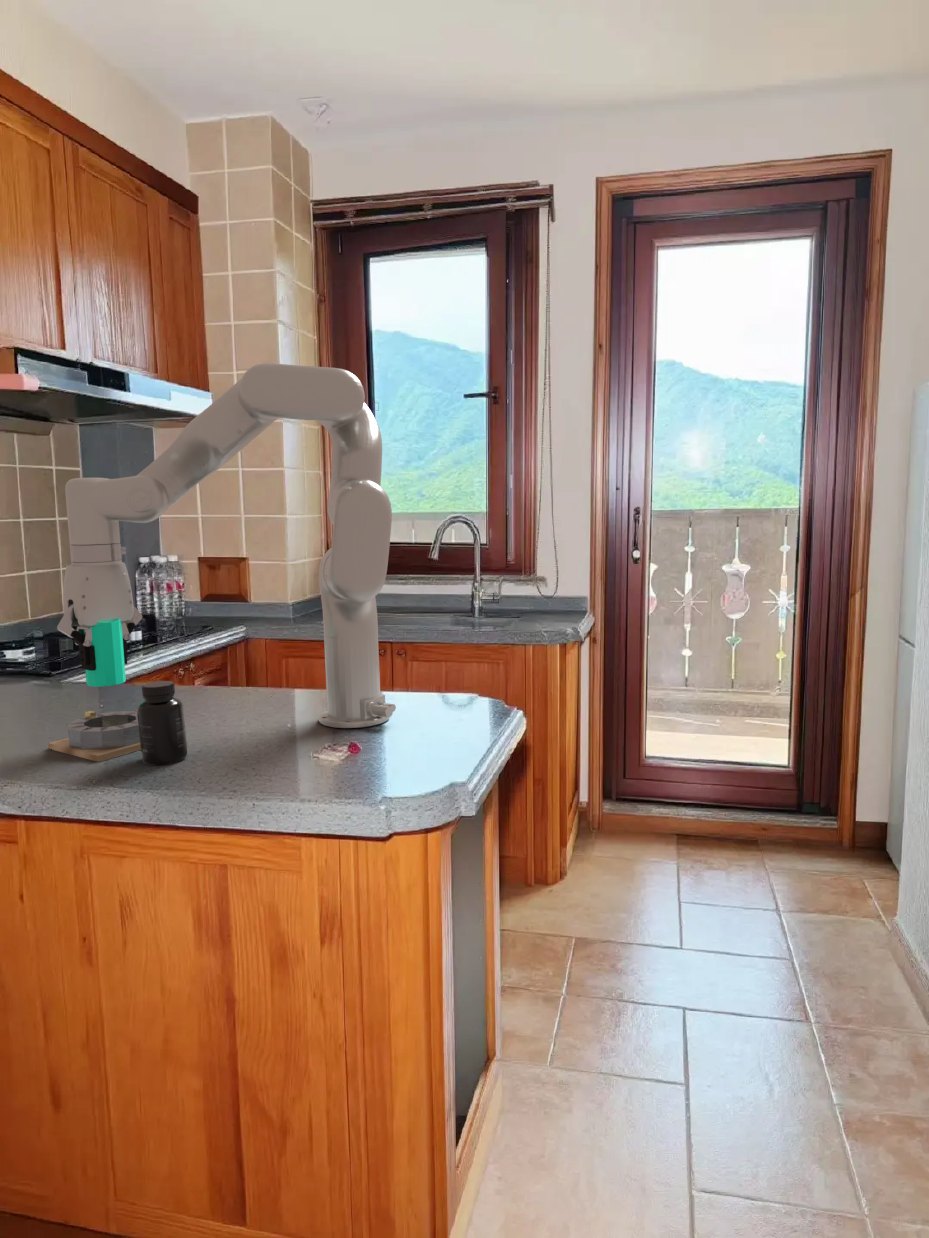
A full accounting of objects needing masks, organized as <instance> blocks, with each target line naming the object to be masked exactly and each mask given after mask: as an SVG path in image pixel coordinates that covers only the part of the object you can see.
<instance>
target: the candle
mask: <svg viewBox="0 0 929 1238" xmlns="http://www.w3.org/2000/svg"><path fill="white" fill-rule="evenodd" d="M91 628H92V642H91V645H90V646H94V649H95V661H96V670H93V671H91V670H85V669H84V671H85V682H86V683H85V684H86V686H88V687H96V688H97V687H99V688H101V687H109V686H110V687H112V686H117V685H120V684H124V683H125V682H126V681H127V678H126V666H125V665H126V664H125V663H124V650H123V636H122V623H121V621H120V619H117V620H116V621H113V622H99V623H97V625H96V626H94V627H91ZM84 631H85V630H83V633H84Z"/></svg>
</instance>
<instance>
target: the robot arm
mask: <svg viewBox="0 0 929 1238" xmlns="http://www.w3.org/2000/svg"><path fill="white" fill-rule="evenodd" d="M362 384H363V383H362V382H361V380H360V379H359V378H358V377H357V376H356V375H355V374H353V373H352V372H351V371H349V370H346V369H343V368H337V367H328V366H310V365H298V364H297V365H296V364H294V365H293V364H284V363H273V362H272V363H271V362H270V363H269V362H268V363H265V362H263V363H258V364H257V363H256V364H255V365H253V366H250V367H249V368H248V369H247V370H246V371H245V372H244V373H243V375H242V376H241V378H240V379H239V380H238V381H237V382H236V383H234V385H232V386H231V387H230V388H229V389H228V390H226V391H225V392H224V393H223V394H222V395H221V396H219V397H218V398H217V399H216V400H214V401H213V402H212V403H211V404H210V405H209V406H208V407H207V408H205V409H204V410H203V411H202V412H200V413H199V414H198V415H196V416H195V417H194V418H193V419H192V420H190V421H189V423H188V424H186V425H185V427H184V428H183V429H182V431H181V432H180V434H179V435H178V436H177V437H176V439H175V440H174V441H173V442H172V444H171V445H170V446H168V447H167V449H166V450H164V451H163V452H162V453H161V454H160V455H159V456H158V457H157V458H156V459H154V460H153V461H152V462H151V463H150V464H149V465H148V466H147V467H145V468H144V469H143V470H141V471H140V472H139V473H138V474H136V475H131V476H125V477H118V478H107V477H105V478H104V477H76V478H71V479H69V480H68V481H67V482H66V483H65V487H64V488H65V489H64V491H65V503H66V504H65V505H66V515H67V526H68V527H67V528H68V539H69V541H68V542H69V552H70V564H69V565H65V566H66V567H65V571H64V578H63V593H62V594H63V595H62V597H63V598H62V599H63V601H62V602H63V603H62V604H63V605H62V606H63V609H62V610H63V616H62V618H61V619H60V621H59V623H58V624H57V627H56V630H57V631H59V632H61V633H62V634H64V635H66V636H67V637H68V638H69V639H70V640H72V641H73V642H74V644H75V645H76V646H78V653H79V662H80V665H81V669H82V670H84V671H85V670H91V671H93V670H96V661H95V649H94V646H90V645H91V642H92V628H91V627H94V626H96V625H97V623H99V622H113V621H116V620H117V619H120V621H121V623H122V636H123V650H124V663H125V665H128V643H127V642H128V640H129V639H130V638H131V637H130V636H131V633H132V632H133V631H134V630H135V628H136V626H137V625H138V624H139V623H140V622H141V620H142V619H143V614H142V613H141V612H140V611H139V610H138V609H137V607H136V606H135V605H134V598H133V591H132V585H131V581H130V576H129V573H128V568H127V566H126V563H125V562H122V561H123V560H122V559H123V555H126V554H127V548H126V546H125V545H124V546H122V544H121V536H120V535H121V533H120V522H129V523H138V524H139V523H140V524H146V523H151V522H153V521H155V520H157V519H159V518H160V517H161V516H162V515H163V514H165V513H166V512H167V511H168V510H169V509H170V508H171V507H172V506H174V505H175V504H176V503H177V502H179V500H181V498H183V497H184V496H185V495H187V494H188V493H189V492H190V491H191V490H192V489H194V488H195V487H196V486H197V485H198V484H200V483H201V482H202V481H203V480H204V479H206V478H207V477H208V476H210V475H212V474H213V473H215V472H216V471H218V470H220V469H221V468H222V467H223V466H225V465H226V464H227V463H228V462H229V461H230V460H231V459H232V458H233V459H234V457H235V456H236V455H238V453H240V452H241V450H243V449H244V448H245V447H247V446H248V445H249V444H250V443H251V442H252V441H254V440H255V439H256V438H257V437H258V436H259V435H260V434H262V433H263V432H264V431H265V430H267V429H268V427H270V426H271V425H272V424H273V423H275V421H277V420H279V419H289V420H300V421H301V420H303V421H315V422H317V423H318V424H320V425H322V426H323V427H324V428H325V429H326V431H327V432H328V433H329V437H330V439H331V441H332V442H331V445H332V460H331V461H332V464H331V465H332V468H331V476H330V477H331V478H330V489H329V497H328V500H327V501H328V502H327V516H328V519H329V521H330V523H331V524H332V526H333V528H332V539H331V540H332V542H331V547H330V548H329V549H328V550H327V551H326V552H325V553H324V555H323V557H322V558H321V560H320V563H319V569H318V582H319V589H320V591H319V592H320V599H321V606H322V607H321V608H322V621H323V622H322V624H323V625H322V626H323V644H324V662H325V663H324V664H325V665H324V666H325V684H326V685H325V687H326V688H325V689H326V705H327V709H326V710H324V711H322V712H320V713H319V714H318V722H319V723H320V724H322V726H325V727H330V728H337V729H338V728H339V729H357V728H358V729H359V728H368V727H373V726H376V725H380V724H383V723H385V722H387V721H388V720H389V719H390V718H391V717H392V716H393V714H394V713H393V712H395V711H396V707H397V706H396V705H395V704H394V703H390V702H389V703H388V702H387V703H386V695H385V694H382V693H381V680H380V677H381V675H380V657H379V656H380V655H379V654H380V653H379V652H380V651H379V626H378V625H379V624H378V620H379V619H378V609H377V600H376V596H377V595H378V594H379V593H380V592H381V590H382V589H383V587H384V584H385V582H386V577H387V572H388V565H389V563H388V562H389V556H390V555H389V554H390V547H391V546H390V544H391V533H392V522H393V521H392V520H393V519H392V518H393V513H392V503H391V501H390V498H389V496H388V493H387V492H386V491H385V489H384V488H383V487H381V485H382V484H381V483H382V466H383V465H382V464H383V462H382V461H383V439H382V434H381V430H380V427H379V424H378V421H377V420H376V417H375V416H374V414H373V412H372V410H371V409H370V408H369V406H368V405H367V404H366V402H365V398H366V395H365V394H366V393H365V390H364V386H363V385H362ZM73 627H76V629H74V628H73ZM83 630H85V631H84V633H83Z"/></svg>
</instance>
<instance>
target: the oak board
mask: <svg viewBox="0 0 929 1238" xmlns="http://www.w3.org/2000/svg"><path fill="white" fill-rule="evenodd" d="M47 745H48V749H49V750H51V749H52V751H56V752H59V753H63V754H66V755H71V756H75V757H78V758H82V759H86V760H89V761H93V762H96V763H100V762H103V761H107V760H110V759H114V758H117V757H120V756H124V755H128V754H131V753H134V752H137V751H141V746H140V743H137V744H133V745H130V746H126V747H120V748H112V749H105V750H81V749H77V748H73V747H70V745H69V737H66V738H63V739H59V740H58V739H57V740H54V741H50V742H48V744H47Z"/></svg>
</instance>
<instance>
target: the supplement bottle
mask: <svg viewBox="0 0 929 1238" xmlns="http://www.w3.org/2000/svg"><path fill="white" fill-rule="evenodd" d="M175 687H176V686H175V682H174V681H171V680H160V681H159V680H158V681H151V682H147V683H144V684H143V685H142V684H141V698H142V699H143V701H141V702H140V703H139V705H138V706H137V709H136V711H137V717H138V727H139V736H140V746H141V750H140V753H141V754H140V755H141V760H142V762H143V763H145V764H147V765H151V766H152V765H153V766H163V765H169V764H173V763H177V762H181V761H182V760H184V759H186V757H187V756H188V741H187V731H186V721H185V711H184V704H183V702H182V701H181V700H180V699H179V698H177V697H175V695H176V693H177V692H176V688H175Z"/></svg>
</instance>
